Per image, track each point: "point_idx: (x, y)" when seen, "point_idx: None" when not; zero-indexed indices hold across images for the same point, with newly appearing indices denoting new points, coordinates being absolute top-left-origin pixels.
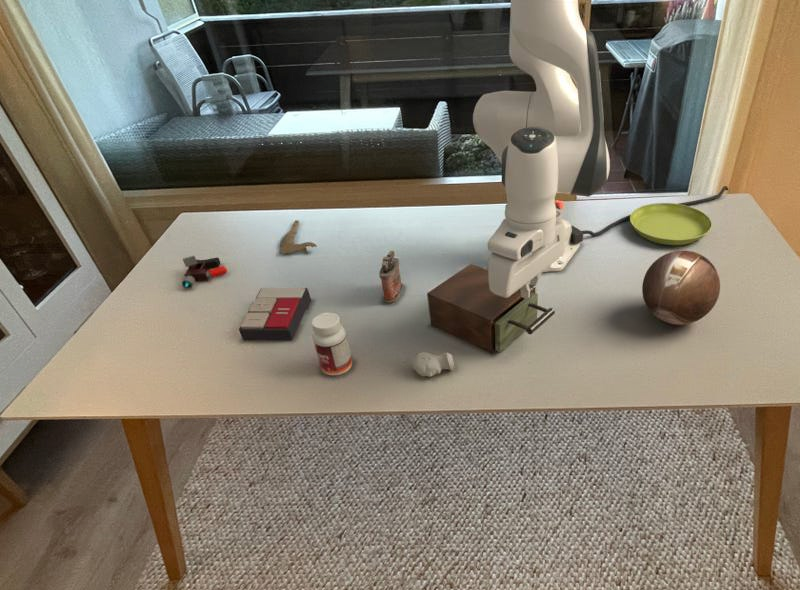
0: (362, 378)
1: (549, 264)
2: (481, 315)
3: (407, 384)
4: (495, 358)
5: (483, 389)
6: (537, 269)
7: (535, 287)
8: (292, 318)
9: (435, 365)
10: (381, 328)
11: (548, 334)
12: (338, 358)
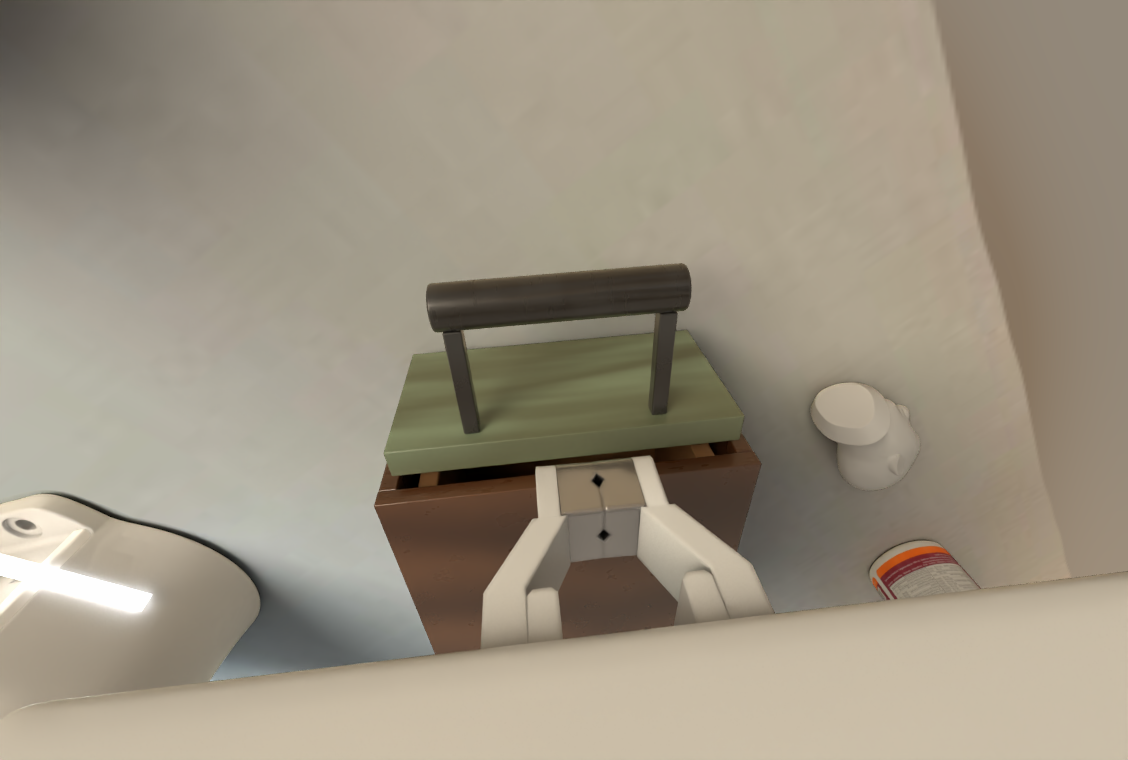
0: (930, 506)
1: (355, 690)
2: (746, 505)
3: (926, 427)
4: (704, 324)
5: (888, 241)
6: (666, 732)
7: (561, 503)
8: None
9: (902, 427)
10: None
11: (436, 261)
12: (973, 586)
